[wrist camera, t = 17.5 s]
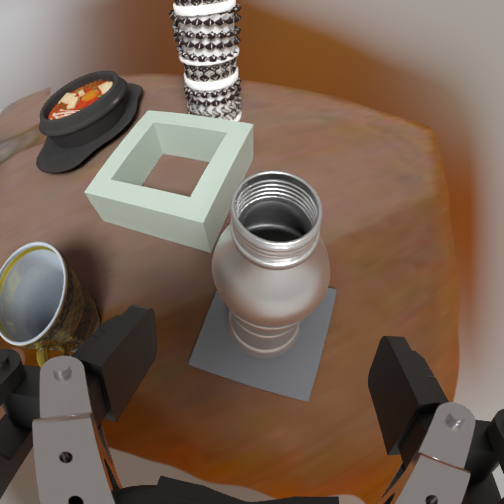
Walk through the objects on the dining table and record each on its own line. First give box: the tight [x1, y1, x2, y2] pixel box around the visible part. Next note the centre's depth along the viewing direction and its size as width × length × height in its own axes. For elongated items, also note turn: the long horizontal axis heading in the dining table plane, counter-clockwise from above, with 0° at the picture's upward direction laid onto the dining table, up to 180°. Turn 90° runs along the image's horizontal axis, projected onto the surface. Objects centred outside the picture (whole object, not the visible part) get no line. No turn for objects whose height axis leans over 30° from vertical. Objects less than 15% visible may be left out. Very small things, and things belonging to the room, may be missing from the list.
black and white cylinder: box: [169, 0, 242, 122], centre depth 35 cm, size 9×9×25 cm
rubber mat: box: [188, 287, 337, 402], centre depth 30 cm, size 12×12×1 cm
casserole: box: [36, 71, 142, 173], centre depth 42 cm, size 25×19×8 cm
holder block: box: [84, 111, 254, 253], centre depth 36 cm, size 16×16×6 cm
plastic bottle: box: [212, 170, 330, 359], centre depth 20 cm, size 6×7×20 cm
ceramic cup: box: [0, 241, 100, 367], centre depth 25 cm, size 13×10×10 cm
